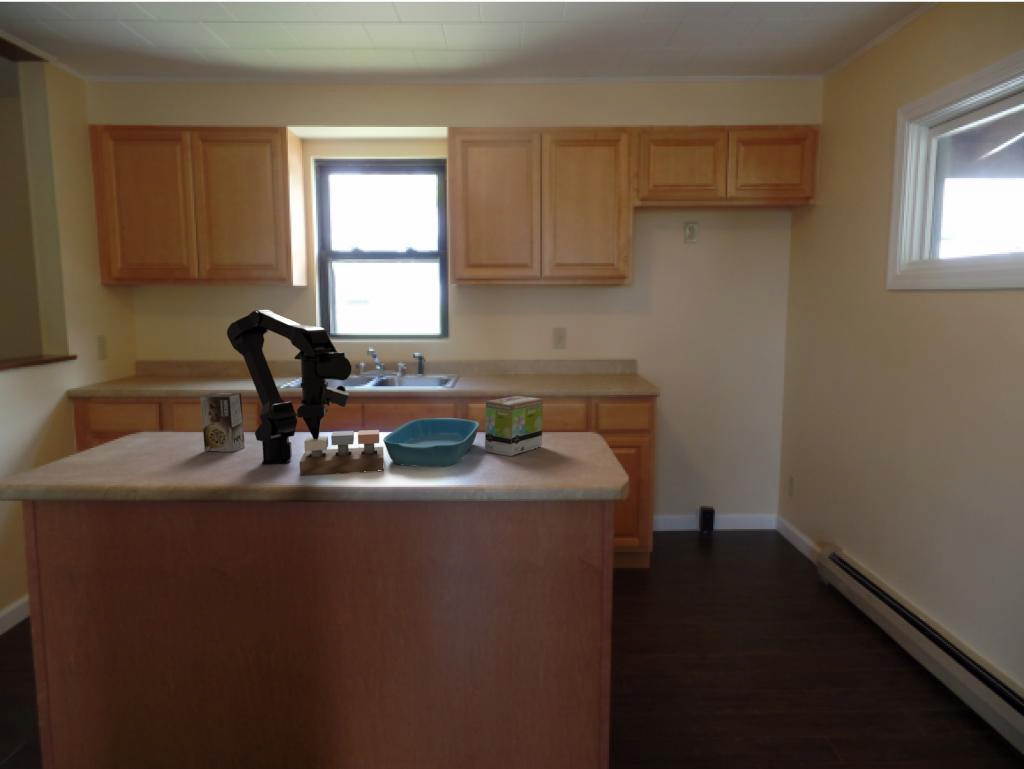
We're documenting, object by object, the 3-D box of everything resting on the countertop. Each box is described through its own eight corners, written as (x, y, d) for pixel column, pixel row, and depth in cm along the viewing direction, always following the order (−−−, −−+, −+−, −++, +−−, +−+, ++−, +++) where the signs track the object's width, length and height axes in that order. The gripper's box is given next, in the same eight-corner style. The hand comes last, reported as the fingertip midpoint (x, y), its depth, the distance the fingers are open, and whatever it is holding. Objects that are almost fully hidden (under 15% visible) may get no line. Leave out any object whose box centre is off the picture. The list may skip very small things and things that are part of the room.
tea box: (512, 457, 168) (512, 404, 166) (484, 452, 174) (483, 400, 172) (543, 447, 180) (543, 397, 178) (516, 442, 186) (516, 394, 184)
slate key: (332, 458, 154) (331, 435, 154) (333, 453, 159) (332, 431, 159) (353, 457, 155) (352, 435, 155) (354, 452, 161) (353, 430, 160)
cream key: (305, 464, 153) (304, 441, 153) (307, 459, 158) (306, 437, 158) (326, 463, 154) (326, 440, 154) (328, 458, 159) (327, 436, 159)
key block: (300, 475, 150) (299, 461, 150) (306, 463, 162) (305, 450, 161) (383, 471, 154) (383, 457, 154) (383, 459, 166) (383, 446, 165)
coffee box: (245, 447, 180) (242, 392, 178) (233, 452, 173) (230, 396, 171) (216, 446, 181) (212, 392, 179) (203, 451, 174) (199, 395, 172)
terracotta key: (358, 457, 156) (357, 434, 155) (359, 452, 161) (358, 430, 160) (379, 456, 157) (378, 433, 156) (379, 451, 162) (379, 429, 161)
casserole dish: (458, 473, 153) (458, 445, 152) (373, 470, 156) (372, 442, 155) (485, 440, 189) (485, 418, 188) (415, 438, 192) (414, 416, 191)
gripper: (344, 381, 146) (346, 445, 148) (348, 373, 164) (350, 430, 166) (295, 383, 144) (298, 447, 146) (305, 373, 162) (307, 431, 164)
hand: (316, 438), depth 156 cm, fingers closed, pressing on cream key
